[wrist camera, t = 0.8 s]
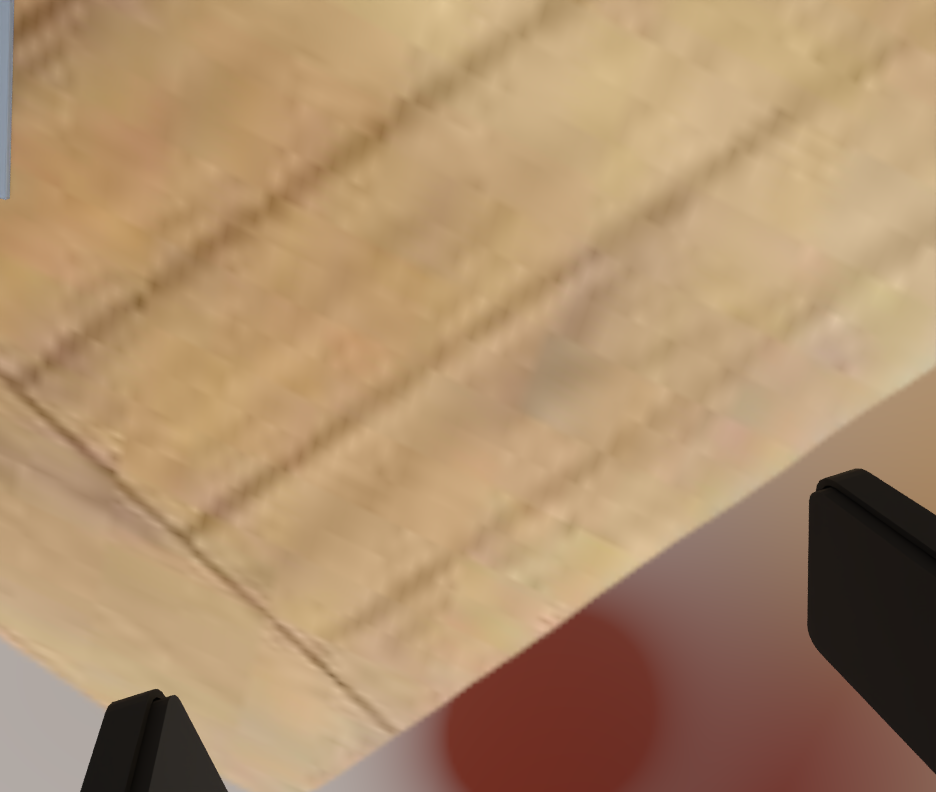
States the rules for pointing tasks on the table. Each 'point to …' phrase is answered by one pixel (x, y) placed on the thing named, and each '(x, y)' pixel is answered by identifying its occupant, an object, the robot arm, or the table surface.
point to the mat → (6, 93)
